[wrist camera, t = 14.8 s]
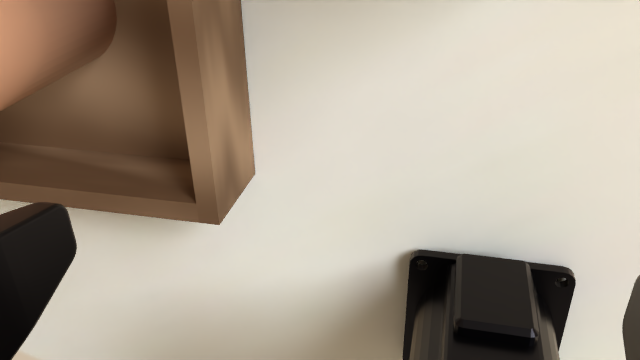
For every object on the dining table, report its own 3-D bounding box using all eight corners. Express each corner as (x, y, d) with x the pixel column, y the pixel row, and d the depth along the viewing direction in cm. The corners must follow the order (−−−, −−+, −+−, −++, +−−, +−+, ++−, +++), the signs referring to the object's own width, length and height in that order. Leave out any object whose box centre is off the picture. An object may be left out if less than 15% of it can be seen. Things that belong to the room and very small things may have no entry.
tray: (255, 173, 24) (219, 224, 21) (-26, 146, 27) (-97, 187, 24) (221, -231, 17) (159, -254, 14) (-149, -210, 20) (-274, -224, 17)
